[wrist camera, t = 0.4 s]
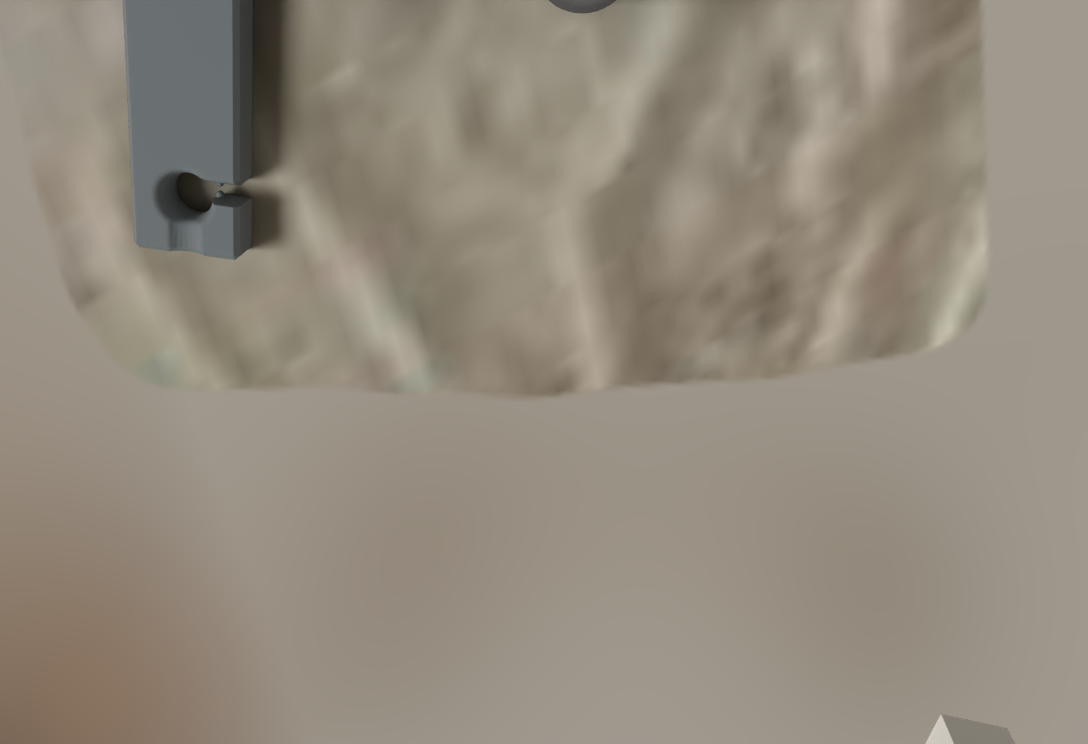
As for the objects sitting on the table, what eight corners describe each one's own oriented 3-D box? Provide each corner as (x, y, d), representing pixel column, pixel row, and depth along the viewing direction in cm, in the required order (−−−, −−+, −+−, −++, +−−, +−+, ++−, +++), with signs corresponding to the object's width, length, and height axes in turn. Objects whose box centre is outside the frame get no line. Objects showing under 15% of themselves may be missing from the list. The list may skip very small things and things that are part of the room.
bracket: (257, -49, 33) (237, -48, 31) (256, 246, 37) (239, 262, 35) (142, -64, 33) (115, -65, 31) (154, 233, 37) (131, 248, 35)
